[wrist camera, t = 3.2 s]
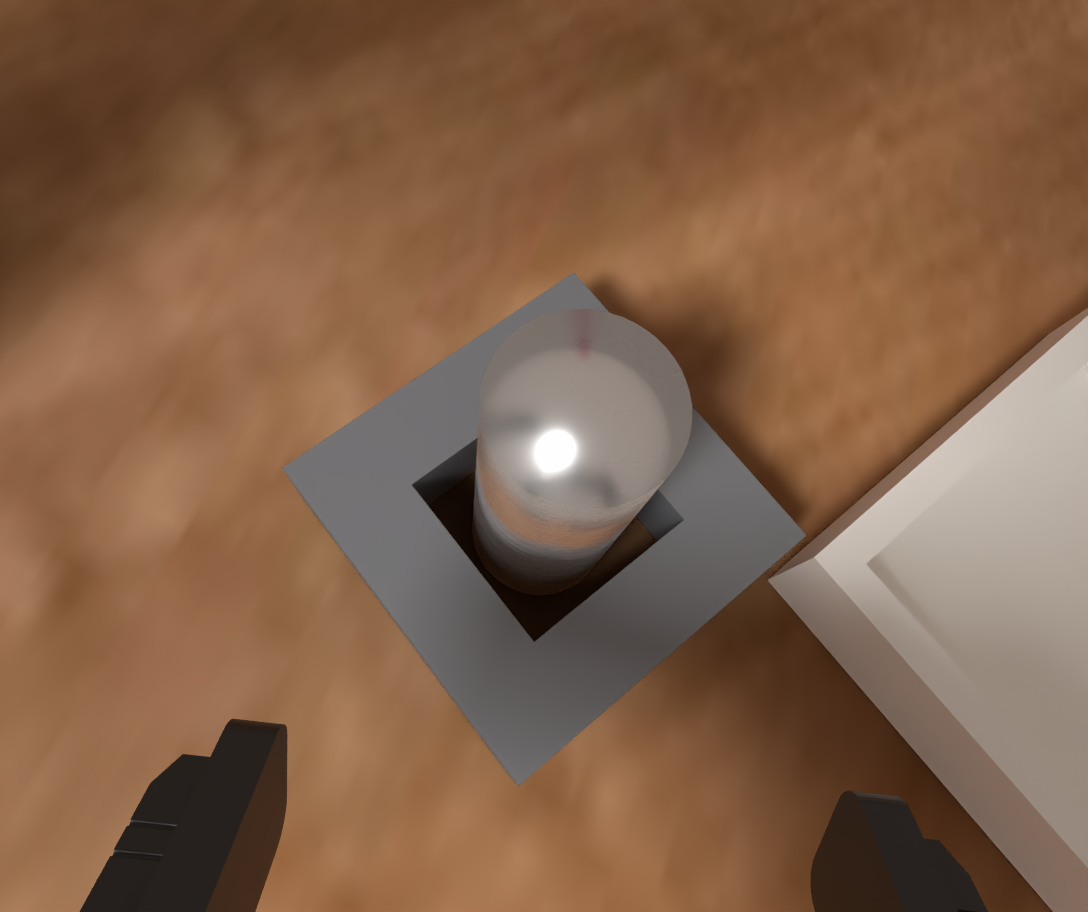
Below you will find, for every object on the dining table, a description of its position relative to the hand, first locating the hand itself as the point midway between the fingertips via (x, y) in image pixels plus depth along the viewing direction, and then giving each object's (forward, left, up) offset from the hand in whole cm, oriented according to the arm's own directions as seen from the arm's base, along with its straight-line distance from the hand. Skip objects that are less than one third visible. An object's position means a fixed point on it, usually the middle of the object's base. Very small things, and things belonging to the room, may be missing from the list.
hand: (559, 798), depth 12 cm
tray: (+8, +16, -11) cm, 21 cm away
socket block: (-5, +5, -11) cm, 13 cm away
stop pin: (-5, +5, -11) cm, 13 cm away
